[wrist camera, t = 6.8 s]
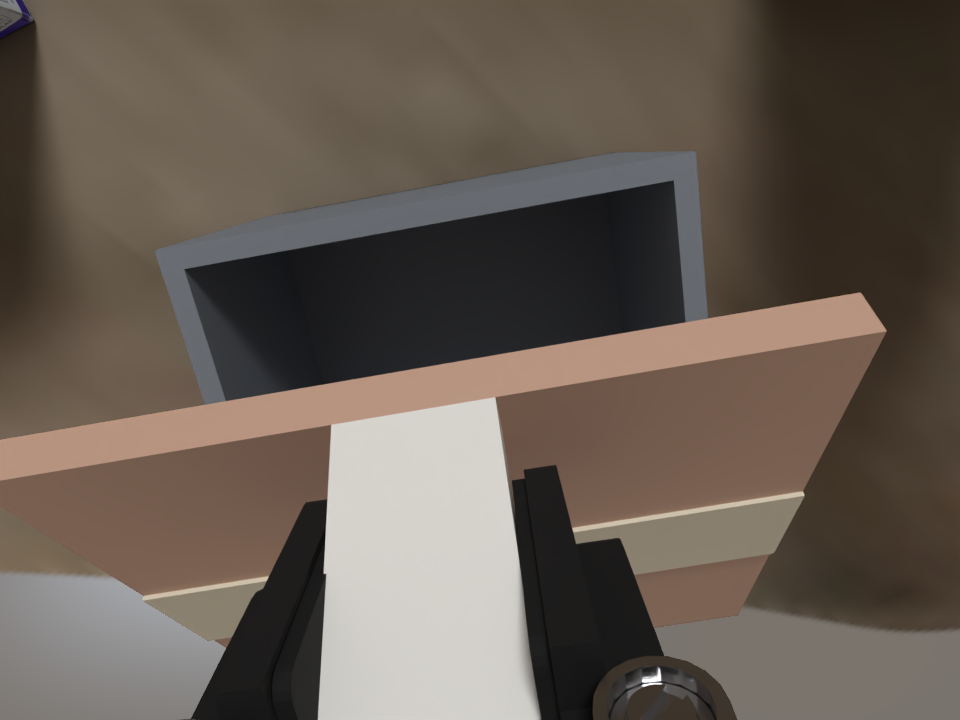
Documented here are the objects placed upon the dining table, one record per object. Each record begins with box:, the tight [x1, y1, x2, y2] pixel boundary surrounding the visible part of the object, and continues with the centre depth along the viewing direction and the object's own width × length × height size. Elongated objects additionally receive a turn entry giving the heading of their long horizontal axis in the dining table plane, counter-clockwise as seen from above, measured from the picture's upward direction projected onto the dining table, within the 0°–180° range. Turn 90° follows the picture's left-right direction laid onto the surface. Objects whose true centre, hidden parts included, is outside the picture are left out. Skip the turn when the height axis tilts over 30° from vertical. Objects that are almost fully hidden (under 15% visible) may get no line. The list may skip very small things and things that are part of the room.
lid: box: [0, 292, 887, 720], centre depth 13 cm, size 14×13×7 cm
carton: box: [155, 151, 708, 405], centre depth 23 cm, size 14×13×10 cm
